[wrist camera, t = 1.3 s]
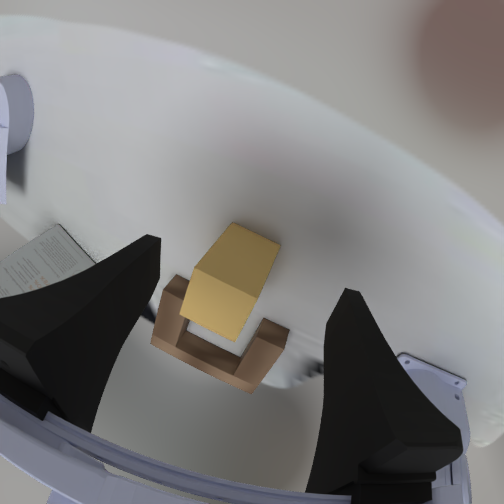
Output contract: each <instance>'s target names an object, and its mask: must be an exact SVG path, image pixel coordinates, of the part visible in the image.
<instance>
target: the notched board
mask: <svg viewBox="0 0 504 504" xmlns="http://www.w3.org/2000/svg"><path fill="white" fill-rule="evenodd" d="M189 282H190V281H188V280H186V279H184V278H182V277H180V276H178V275H175V277H174V278H173V279H172V280H171V281H170V282H169V283H168V285H167V286H166V287H165V288H164V289H163V292H162V296H161V300H160V304H159V308H158V312H157V317H156V321H155V325H154V329H153V334H152V338H151V344H152V345H154V346H155V347H157V348H159V349H161V350H163V351H165V352H166V353H168V354H170V355H172V356H174V357H176V358H178V359H179V360H181V361H183V362H185V363H187V364H189V365H191V366H193V367H195V368H197V369H199V370H201V371H203V372H205V373H207V374H209V375H211V376H213V377H215V378H217V379H219V380H222V381H224V382H226V383H228V384H230V385H232V386H234V387H237V388H239V389H241V390H243V391H245V392H248V393H250V394H252V393H253V392H254V390H255V389H256V388H257V386H258V385H259V384H260V382H261V381H262V379H263V378H264V377H265V375H266V374H267V373H268V371H269V370H270V369H271V367H272V366H273V364H274V363H275V362H276V360H277V359H278V357H279V356H280V355H281V353H282V352H283V350H284V348H285V345H286V341H287V337H288V334H289V330H288V329H286V328H284V327H282V326H280V325H278V324H275V323H273V322H271V321H269V320H267V319H265V318H263V320H262V322H261V323H260V325H259V327H258V329H257V330H256V332H255V334H254V336H253V337H252V339H251V341H250V342H249V344H248V346H247V348H246V349H245V351H244V353H243V354H242V356H241V358H240V357H238V356H236V355H234V354H232V353H230V352H228V351H226V350H223V349H221V348H219V347H217V346H215V345H213V344H211V343H209V342H207V341H205V340H203V339H201V338H199V337H197V336H195V335H193V334H192V333H190V332H188V331H186V329H187V326H188V323H189V321H190V320H189V319H187V318H185V317H183V316H182V315H180V310H181V307H182V304H183V301H184V298H185V294H186V291H187V288H188V285H189Z"/></svg>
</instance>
